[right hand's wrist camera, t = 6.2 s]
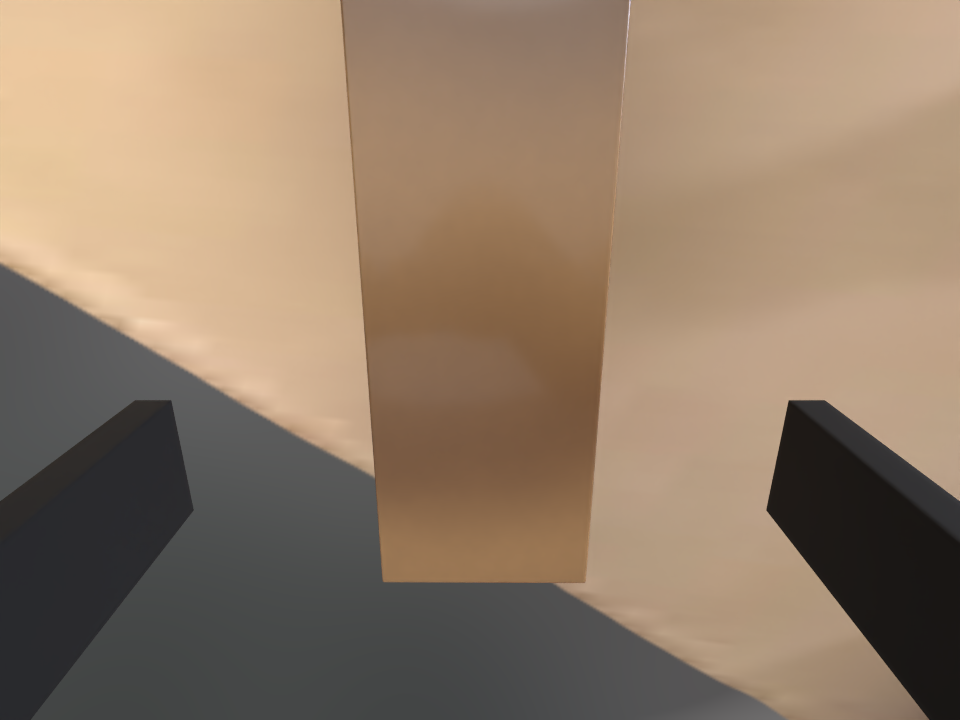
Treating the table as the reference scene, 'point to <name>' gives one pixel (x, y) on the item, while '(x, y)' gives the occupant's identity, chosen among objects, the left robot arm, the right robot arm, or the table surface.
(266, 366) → the table surface
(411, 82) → the wooden box
